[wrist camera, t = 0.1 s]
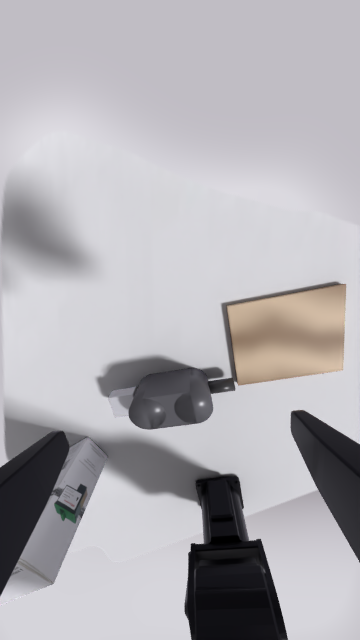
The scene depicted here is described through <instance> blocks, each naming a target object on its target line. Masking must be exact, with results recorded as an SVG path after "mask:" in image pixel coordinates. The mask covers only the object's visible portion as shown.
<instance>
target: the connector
mask: <svg viewBox="0 0 360 640" xmlns="http://www.w3.org/2000/svg"><path fill="white" fill-rule="evenodd" d="M228 391H235V385H234V381H233V378H228V379H221V380H214V381H208V377H207V375H206V374H205V373H204V372H203V371H202V370H200V369H197V368H188V369H182V370H175V371H169V372H163V373H157V374H150V375H147V376H145V377H144V378H143V379H142V380H141V382H140V384H139V386H138V389H136V387H131V388H125V389H118V390H113V391H112V392H111V394H110V395H109V397H108V400H109V403H110V405H111V408H112V411H113V414H114V416H115V417H123V416H129V418H130V420H131V421H132V422H133V423H134V424H135V425H136V426H138V427H140V428H142V429H158V428H166V427H173V426H181V425H189V424H197V423H201V422H204V421H205V420H207V419H208V418H209V417H210V416H211V414H212V412H213V404H212V398H211V394H214V393H221V392H228Z"/></svg>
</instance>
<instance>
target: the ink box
mask: <svg viewBox="0 0 360 640" xmlns="http://www.w3.org/2000/svg"><path fill="white" fill-rule="evenodd" d="M107 458H108V457H107V455H106V454H105V453H104V452H103V451H102V450H101V449H100V448H99V447H98V446H97V445H96V444H95V443H94V442H93V441H92V440H91V439H90V438H89V437H86V438H85V439H83V440H81V441H80V442H78V443H76V444H75V445H73V446H71V447H70V448H69V453H68V456H67V458H66V460H65V463H64V465H63V468H62V470H61V472H60V475H59V477H58V479H57V482H56V484H55V487H54V489H53V491H52V494H51V496H50V498H49V500H48V502H47V505H46V507H45V509H44V511H43V513H42V515H41V517H40V519H39V521H38V523H37V525H36V527H35V529H34V531H33V533H32V535H31V537H30V539H29V541H28V543H27V545H26V547H25V549H24V551H23V553H22V555H21V556H20V558H19V560H18V562H17V564H16V566H15V568H14V570H13V572H12V574H11V576H10V578H9V580H8V582H7V584H6V586H5V588H4V590H3V592H2V594H1V596H0V605H3V604H5V603H8V602H10V601H12V600H15V599H17V598H20V597H22V596H24V595H27V594H29V593H32V592H34V591H37V590H39V589H42V588H44V587H47V586H49V585H52V584H54V581H55V579H56V577H57V574H58V572H59V569H60V567H61V565H62V562H63V560H64V558H65V555H66V553H67V551H68V548H69V546H70V544H71V541H72V539H73V537H74V534H75V532H76V530H77V527H78V525H79V523H80V520H81V518H82V516H83V514H84V511H85V509H86V506H87V504H88V502H89V500H90V497H91V495H92V493H93V490H94V488H95V486H96V483H97V481H98V479H99V476H100V474H101V472H102V469H103V467H104V465H105V462H106V460H107Z"/></svg>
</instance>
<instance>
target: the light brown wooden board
mask: <svg viewBox="0 0 360 640" xmlns="http://www.w3.org/2000/svg"><path fill="white" fill-rule="evenodd" d="M345 302H346V284H338V285H333V286H327V287H322V288H317V289H312V290H306V291H301V292H296V293H291V294H285V295H280V296H275V297H269V298H264V299H259V300H254V301H248V302H243V303H238V304H232V305H227V313H228V320H229V327H230V335H231V342H232V349H233V356H234V363H235V370H236V377H237V383H238V385H245V384H252V383H259V382H266V381H273V380H280V379H286V378H293V377H300V376H307V375H314V374H321V373H328V372H335V371H341V370H343V358H344V330H345Z"/></svg>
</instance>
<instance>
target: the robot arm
mask: <svg viewBox="0 0 360 640" xmlns="http://www.w3.org/2000/svg"><path fill="white" fill-rule="evenodd" d="M291 433H292V435H293V438H294V440H295V442H296V444H297V446H298V448H299V451H300V453H301V455H302V457H303V459H304V461H305V463H306V465H307V468H308V470H309V472H310V474H311V476H312V478H313V480H314V482H315V484H316V486H317V488H318V490H319V492H320V494H321V495H322V497H323V499H324V500H325V502H326V504H327V506H328V508H329V509H330V511H331V513H332V515H333V516H334V518H335V520H336V522H337V523H338V525H339V527H340V528H341V530H342V532H343V534H344V536H345V537H346V539H347V541H348V542H349V544H350V546H351V548H352V549H353V551H354V553H355V555H356V556H357V558H358V560H359V562H360V444H358V443H357V442H355V441H353V440H352V439H350V438H349V437H347V436H345V435H344V434H342V433H340V432H339V431H337V430H335V429H334V428H332V427H331V426H329V425H327V424H326V423H324V422H322V421H321V420H319V419H318V418H316V417H314V416H313V415H311V414H309V413H308V412H306V411H304V410H297V411H292V412H291ZM69 448H70V447H69V443H68V441H67V438H66V436H65V433H64V432H63V431H53V432H51V433H49V434H48V435H46V436H45V437H43V438H42V439H41V440H39V441H38V442H36V443H35V444H33V445H32V446H31V447H29V448H28V449H26V450H25V451H23V452H22V453H20V454H19V455H18V456H16V457H15V458H13V459H12V460H10V461H9V462H8V463H6V464H5V465H3V466H2V467H0V596H1V594H2V592H3V590H4V588H5V586H6V584H7V582H8V580H9V578H10V576H11V574H12V572H13V570H14V568H15V566H16V564H17V562H18V560H19V558H20V556H21V555H22V553H23V551H24V549H25V547H26V545H27V543H28V541H29V539H30V537H31V535H32V533H33V531H34V529H35V527H36V525H37V523H38V521H39V519H40V517H41V515H42V513H43V511H44V509H45V507H46V505H47V502H48V500H49V498H50V496H51V494H52V491H53V489H54V487H55V484H56V482H57V479H58V477H59V475H60V472H61V470H62V468H63V465H64V463H65V460H66V458H67V456H68V453H69ZM196 489H197V493H198V497H199V501H200V505H201V509H202V518H203V535H204V544H195V543H192V544H191V551H190V552H189V553H188V556H189V559H188V560H189V563H188V565H189V566H188V581H187V590H186V598H185V614H186V616H187V618H188V620H189V626H190V632H191V639H192V640H288V638H287V633H286V629H285V625H284V620H283V616H282V612H281V608H280V604H279V600H278V597H277V593H276V589H275V586H274V582H273V579H272V576H271V572H270V569H269V566H268V562H267V558H266V555H265V552H264V548H263V545H262V541H261V539H257V540H254V541H249V538H248V533H247V529H246V524H245V520H244V515H243V511H242V509H243V508H244V506H243V500H242V494H241V488H240V482H239V478H238V477H225V478H215V479H205V480H197V481H196Z"/></svg>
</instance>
